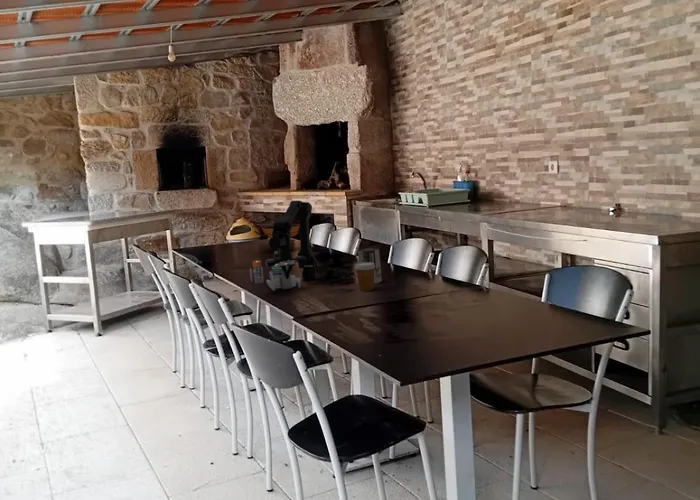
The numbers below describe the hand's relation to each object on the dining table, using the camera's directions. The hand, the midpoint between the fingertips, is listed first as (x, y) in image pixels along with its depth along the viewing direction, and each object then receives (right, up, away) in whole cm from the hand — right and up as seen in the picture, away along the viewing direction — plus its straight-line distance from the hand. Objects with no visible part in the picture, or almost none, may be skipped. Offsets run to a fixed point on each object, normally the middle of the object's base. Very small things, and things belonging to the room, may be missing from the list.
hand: (287, 278), depth 312 cm
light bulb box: (-4, -4, +15) cm, 16 cm away
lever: (-18, +3, +27) cm, 33 cm away
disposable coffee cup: (+37, -5, -10) cm, 39 cm away
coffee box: (+40, -2, +7) cm, 41 cm away
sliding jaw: (-1, -4, +6) cm, 7 cm away
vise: (-8, -3, +19) cm, 21 cm away
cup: (-16, +12, +132) cm, 134 cm away
